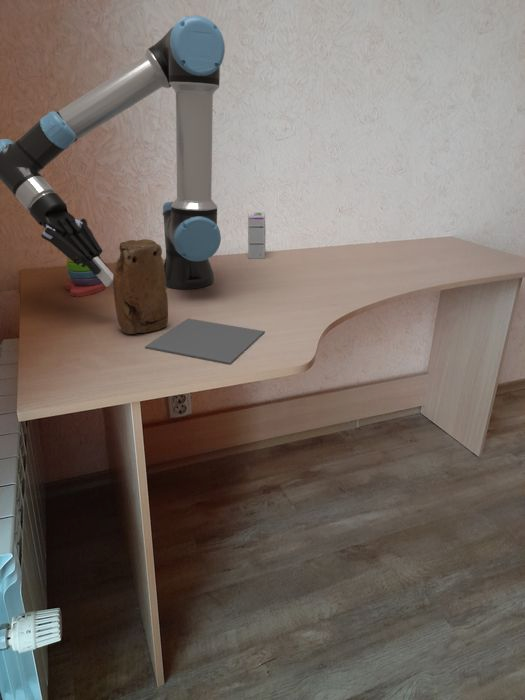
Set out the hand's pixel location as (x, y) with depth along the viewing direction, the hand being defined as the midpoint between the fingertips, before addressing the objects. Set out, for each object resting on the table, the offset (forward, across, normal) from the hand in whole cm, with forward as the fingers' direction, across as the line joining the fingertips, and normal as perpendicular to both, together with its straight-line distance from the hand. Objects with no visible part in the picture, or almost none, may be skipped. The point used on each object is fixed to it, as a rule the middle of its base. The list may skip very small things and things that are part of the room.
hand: (111, 282), depth 121 cm
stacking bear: (-9, -18, -24) cm, 31 cm away
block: (+13, 0, -2) cm, 13 cm away
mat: (+24, 0, +10) cm, 26 cm away
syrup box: (+11, -71, -3) cm, 72 cm away
